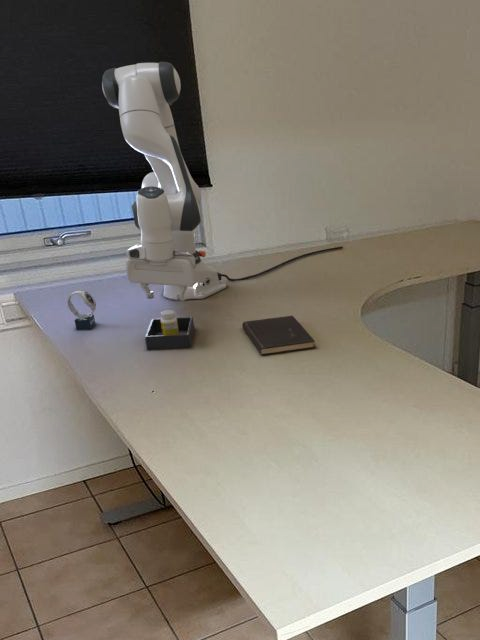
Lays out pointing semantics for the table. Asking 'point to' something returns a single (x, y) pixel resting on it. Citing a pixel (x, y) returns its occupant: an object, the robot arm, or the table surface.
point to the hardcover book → (278, 335)
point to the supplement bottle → (169, 323)
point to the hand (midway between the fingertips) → (165, 299)
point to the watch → (83, 319)
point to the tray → (170, 340)
